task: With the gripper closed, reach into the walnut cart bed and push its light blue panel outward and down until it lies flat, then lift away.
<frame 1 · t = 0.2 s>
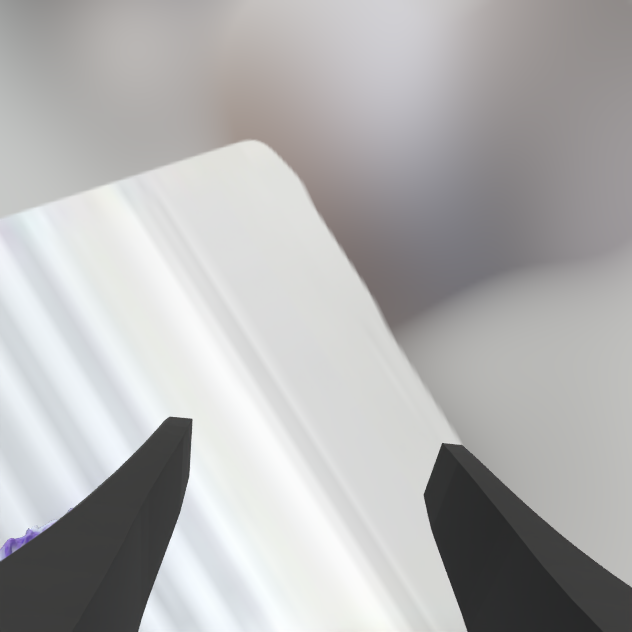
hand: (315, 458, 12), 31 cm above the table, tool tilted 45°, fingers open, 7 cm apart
flower: (96, 550, 36), on the table
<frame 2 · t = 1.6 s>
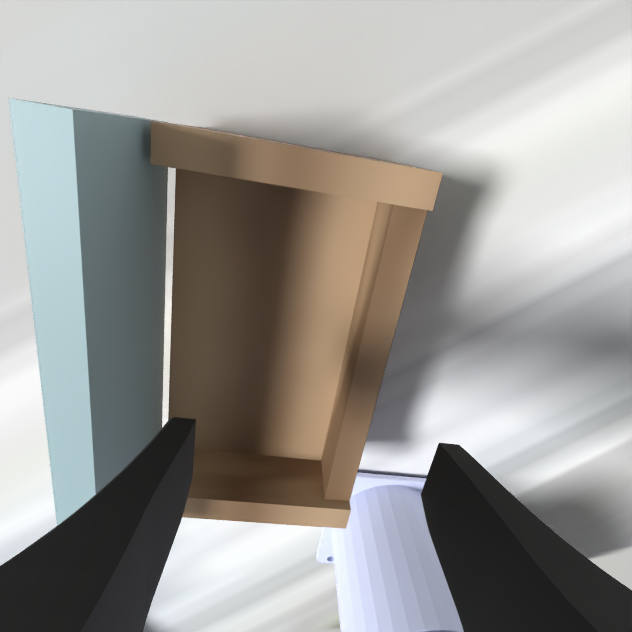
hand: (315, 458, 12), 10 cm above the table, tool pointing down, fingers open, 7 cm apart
light blue panel: (118, 362, 14), point 7 cm above the table, hinge at 0.0°
cart bed: (276, 311, 21), on the table
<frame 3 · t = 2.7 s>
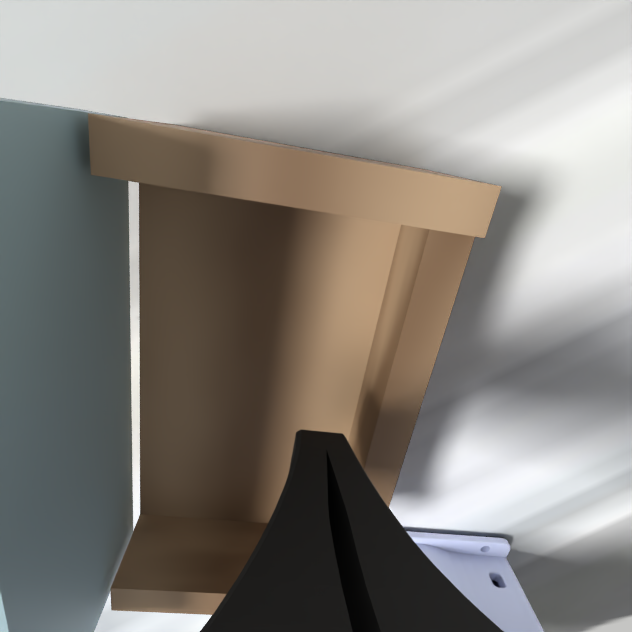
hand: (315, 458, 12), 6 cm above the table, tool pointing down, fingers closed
light blue panel: (59, 438, 11), point 7 cm above the table, hinge at 0.0°
cart bed: (273, 347, 17), on the table
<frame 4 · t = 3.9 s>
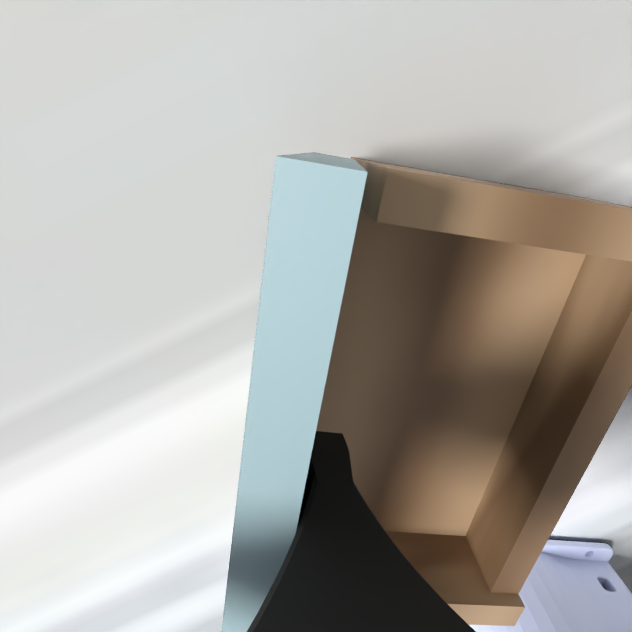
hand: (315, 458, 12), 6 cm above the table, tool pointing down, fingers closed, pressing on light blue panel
light blue panel: (281, 456, 12), point 6 cm above the table, hinge at 7.4°, touching gripper
cart bed: (414, 364, 18), on the table
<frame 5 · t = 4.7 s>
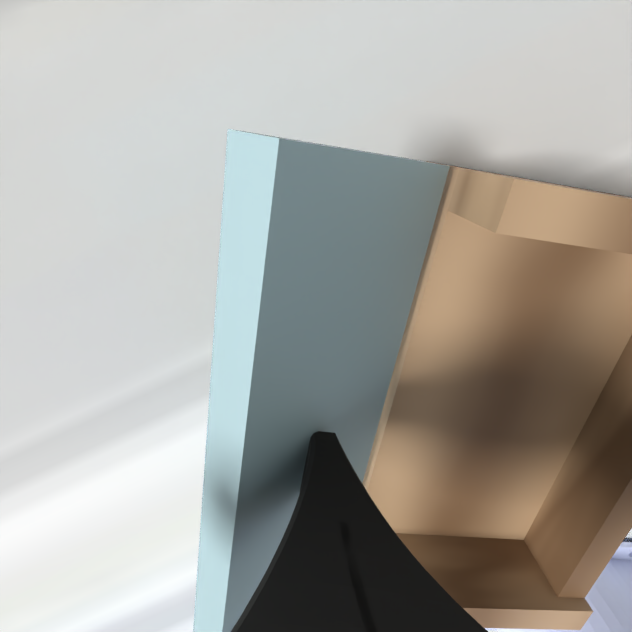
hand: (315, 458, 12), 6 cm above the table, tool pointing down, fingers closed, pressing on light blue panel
light blue panel: (311, 433, 12), point 5 cm above the table, hinge at 43.1°, touching gripper
cart bed: (474, 368, 18), on the table
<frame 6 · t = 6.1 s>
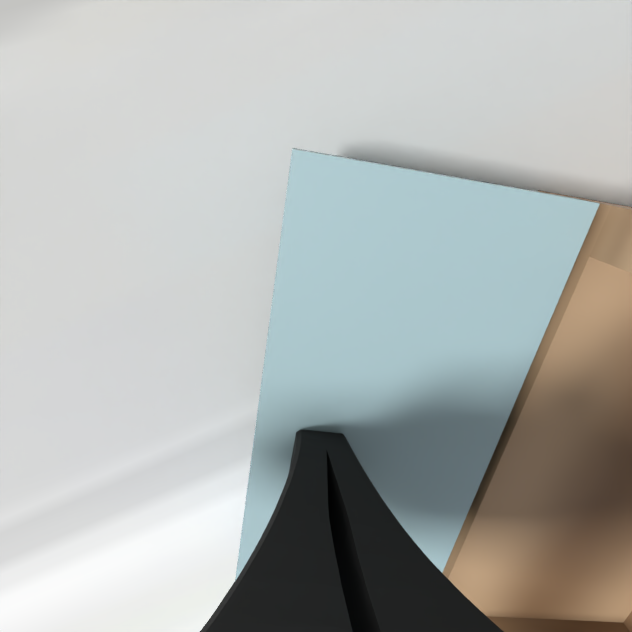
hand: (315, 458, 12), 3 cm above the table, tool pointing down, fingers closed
light blue panel: (369, 448, 12), point 2 cm above the table, hinge at 89.9°
cart bed: (568, 424, 16), on the table
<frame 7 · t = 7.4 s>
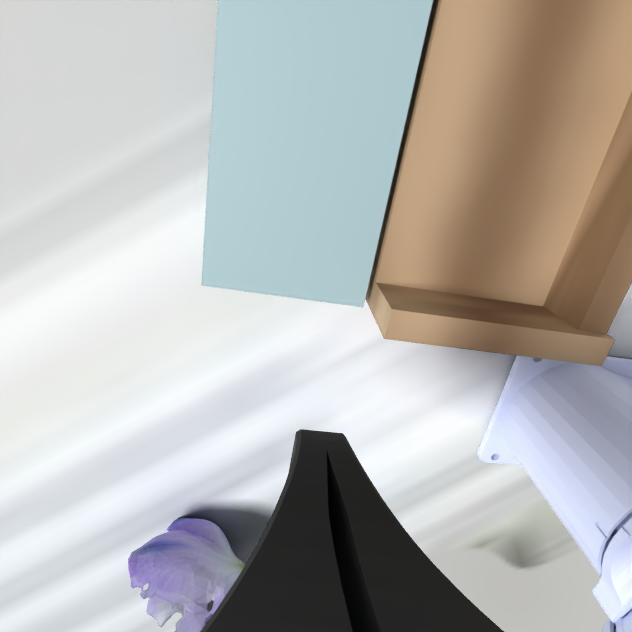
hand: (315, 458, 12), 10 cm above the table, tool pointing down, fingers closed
light blue panel: (313, 89, 15), point 2 cm above the table, hinge at 90.0°
cart bed: (494, 131, 18), on the table
flower: (223, 529, 27), on the table
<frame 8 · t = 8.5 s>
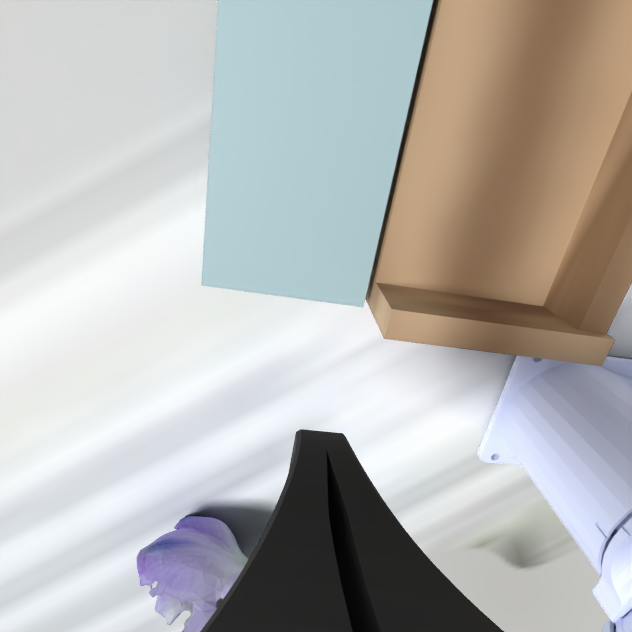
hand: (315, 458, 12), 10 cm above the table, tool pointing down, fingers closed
light blue panel: (313, 89, 15), point 2 cm above the table, hinge at 90.0°
cart bed: (494, 131, 18), on the table
flower: (230, 528, 27), on the table
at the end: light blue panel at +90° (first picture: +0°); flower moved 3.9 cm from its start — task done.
